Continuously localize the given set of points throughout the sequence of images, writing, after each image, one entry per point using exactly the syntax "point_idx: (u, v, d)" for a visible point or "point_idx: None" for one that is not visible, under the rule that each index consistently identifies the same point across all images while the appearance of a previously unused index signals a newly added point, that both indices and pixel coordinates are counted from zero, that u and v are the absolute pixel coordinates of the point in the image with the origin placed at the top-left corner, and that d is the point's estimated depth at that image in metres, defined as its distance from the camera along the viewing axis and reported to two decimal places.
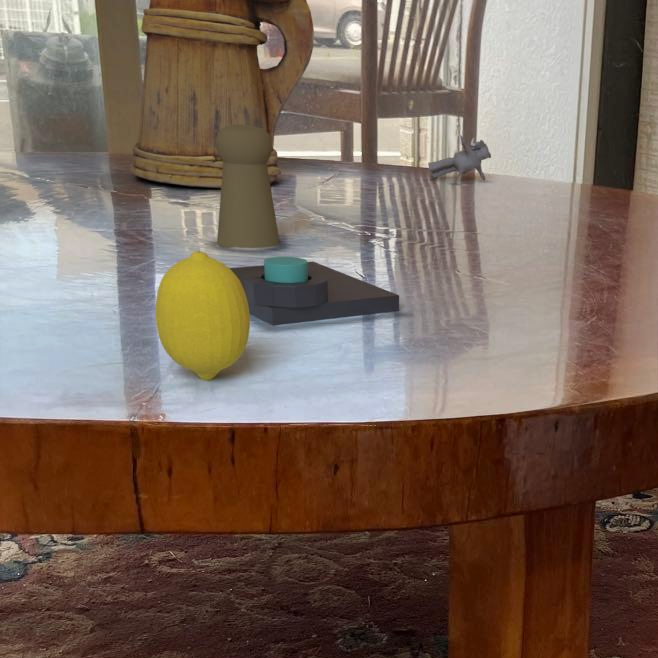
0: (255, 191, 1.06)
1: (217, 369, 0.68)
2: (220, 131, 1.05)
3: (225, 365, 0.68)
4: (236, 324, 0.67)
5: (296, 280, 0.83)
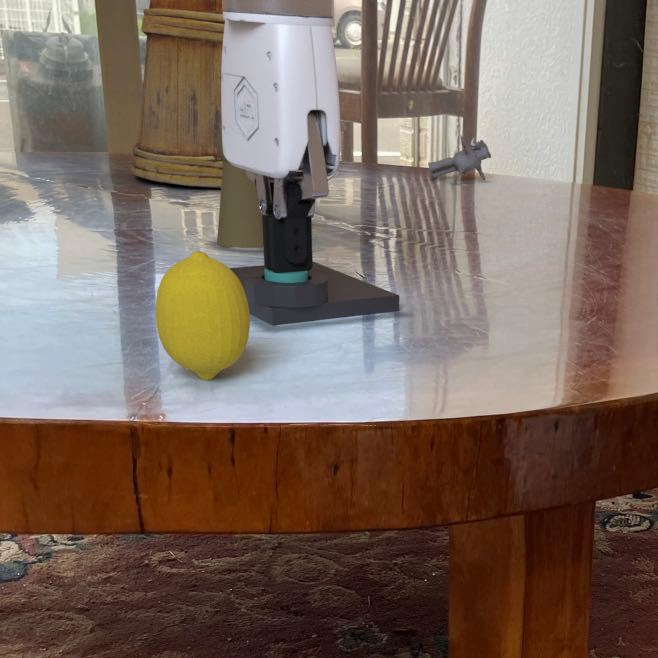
0: (255, 191, 1.06)
1: (217, 369, 0.68)
2: (220, 131, 1.05)
3: (225, 365, 0.68)
4: (236, 324, 0.67)
5: None
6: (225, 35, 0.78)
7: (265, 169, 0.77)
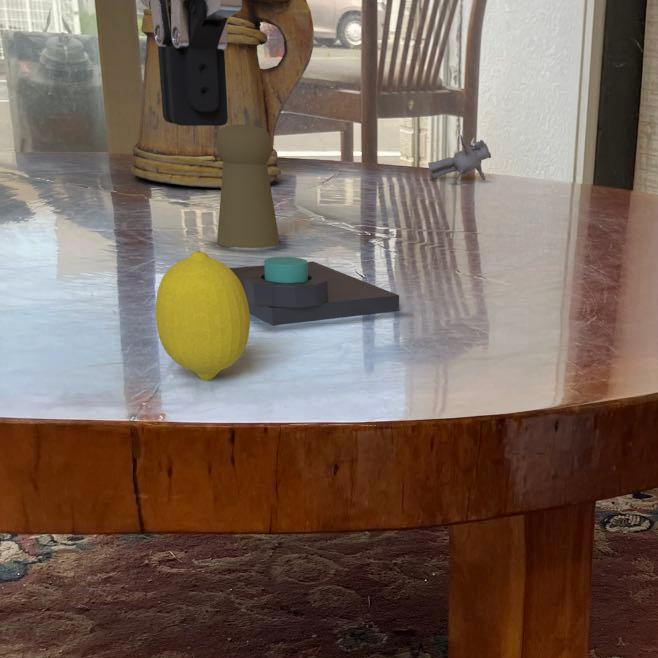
0: (255, 191, 1.06)
1: (217, 369, 0.68)
2: (220, 131, 1.05)
3: (225, 365, 0.68)
4: (236, 324, 0.67)
5: (296, 280, 0.83)
6: None
7: None
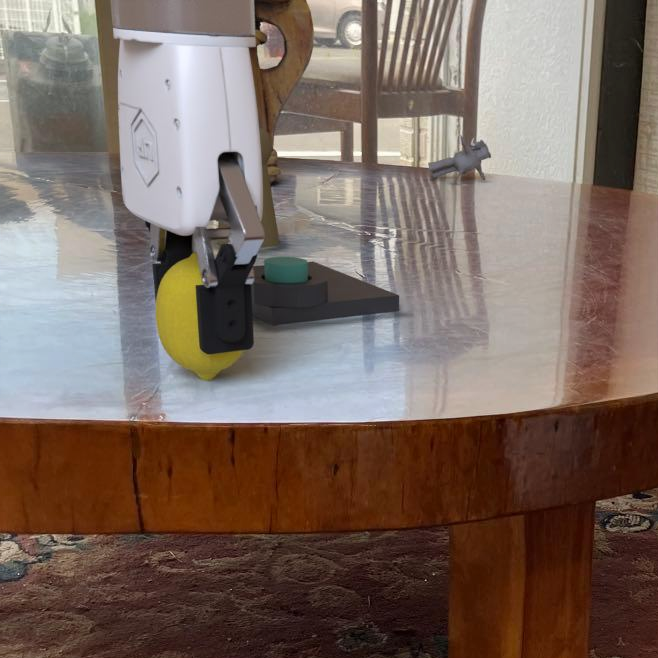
0: None
1: (217, 369, 0.68)
2: None
3: (225, 365, 0.68)
4: None
5: (296, 280, 0.83)
6: (120, 56, 0.63)
7: (168, 224, 0.62)
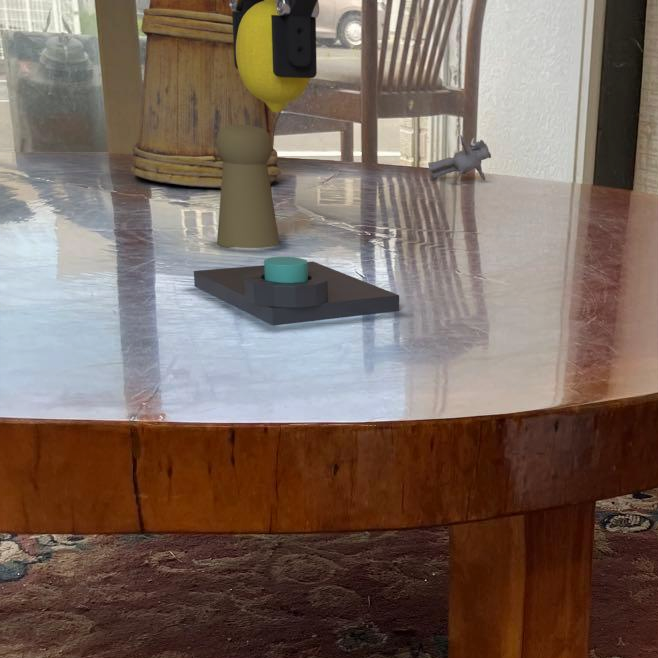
0: (255, 191, 1.06)
1: (286, 98, 0.82)
2: (220, 131, 1.05)
3: (292, 95, 0.82)
4: None
5: (296, 280, 0.83)
6: None
7: None
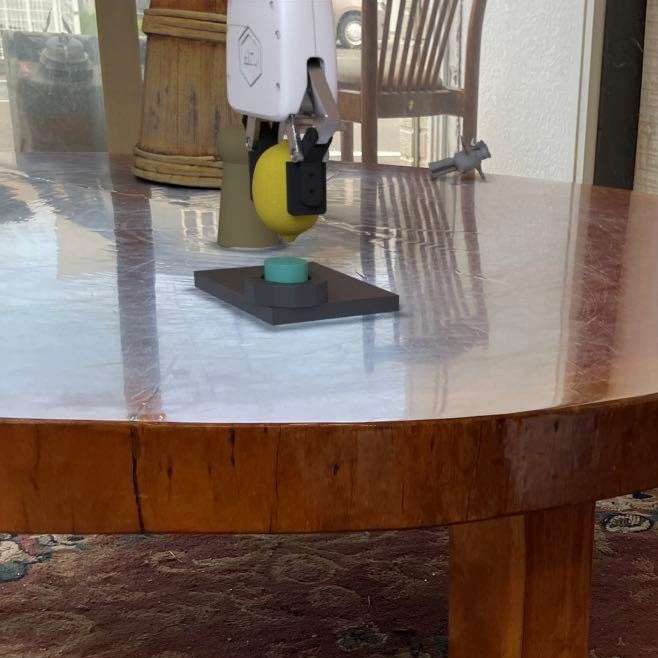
0: None
1: (298, 231, 0.89)
2: (220, 131, 1.05)
3: (304, 228, 0.89)
4: None
5: (296, 280, 0.83)
6: None
7: (267, 113, 0.83)
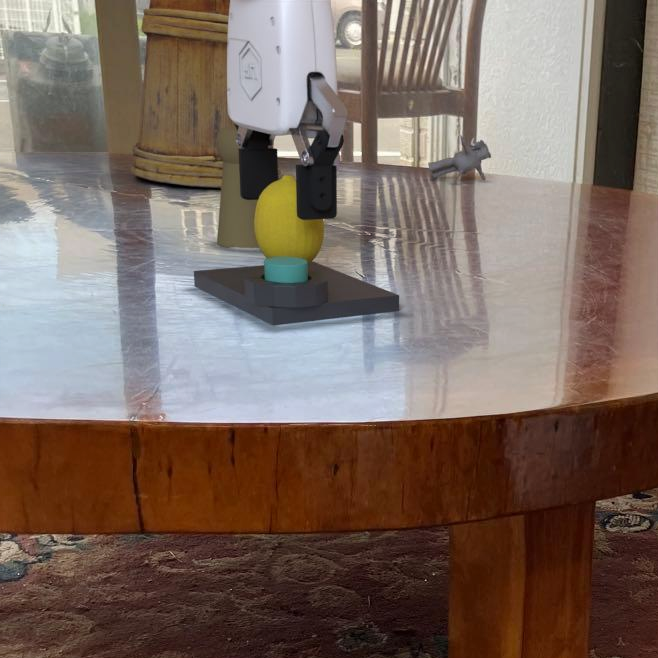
0: None
1: None
2: (220, 131, 1.05)
3: None
4: (315, 229, 0.89)
5: (296, 280, 0.83)
6: (231, 3, 0.84)
7: (267, 127, 0.84)
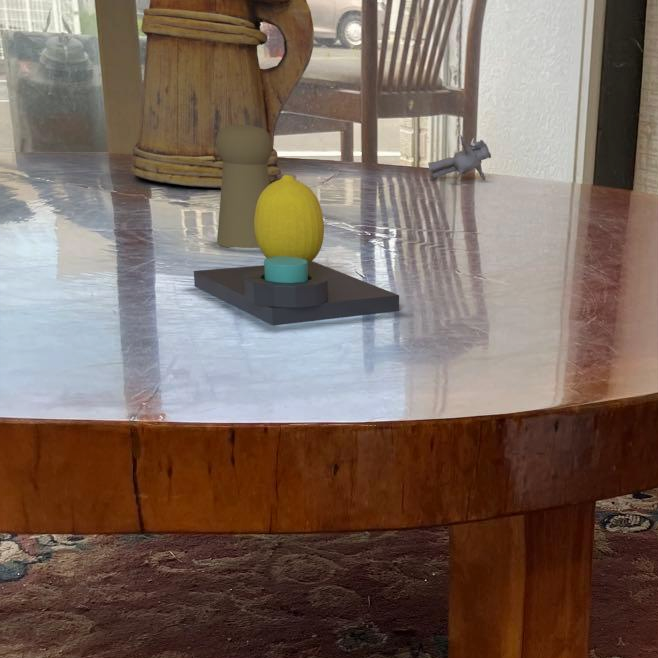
0: (255, 191, 1.06)
1: None
2: (220, 131, 1.05)
3: None
4: (315, 229, 0.89)
5: (296, 280, 0.83)
6: None
7: None
